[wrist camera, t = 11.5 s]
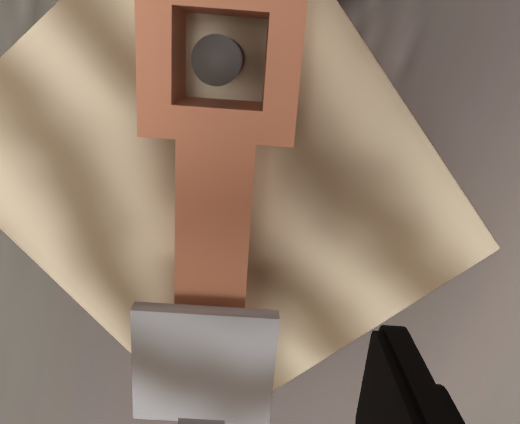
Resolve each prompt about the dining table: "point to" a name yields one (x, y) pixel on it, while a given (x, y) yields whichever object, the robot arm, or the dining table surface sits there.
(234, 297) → the link
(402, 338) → the robot arm
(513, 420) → the dining table surface
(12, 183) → the board
